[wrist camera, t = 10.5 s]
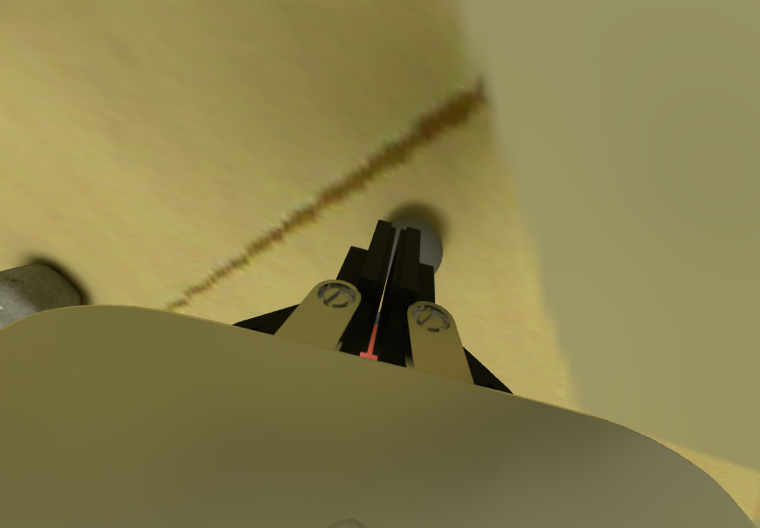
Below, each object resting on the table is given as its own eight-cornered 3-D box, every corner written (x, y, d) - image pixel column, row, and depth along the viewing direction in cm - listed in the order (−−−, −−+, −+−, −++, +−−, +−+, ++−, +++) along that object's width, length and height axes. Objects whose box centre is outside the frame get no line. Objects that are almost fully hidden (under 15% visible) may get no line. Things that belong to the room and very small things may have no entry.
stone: (-6, 276, 37) (-97, 316, 28) (65, 240, 38) (-2, 268, 29) (59, 328, 41) (-3, 378, 32) (121, 294, 42) (78, 333, 33)
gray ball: (380, 300, 22) (369, 274, 27) (451, 294, 23) (428, 270, 28) (379, 225, 20) (368, 213, 25) (456, 222, 21) (430, 211, 26)
